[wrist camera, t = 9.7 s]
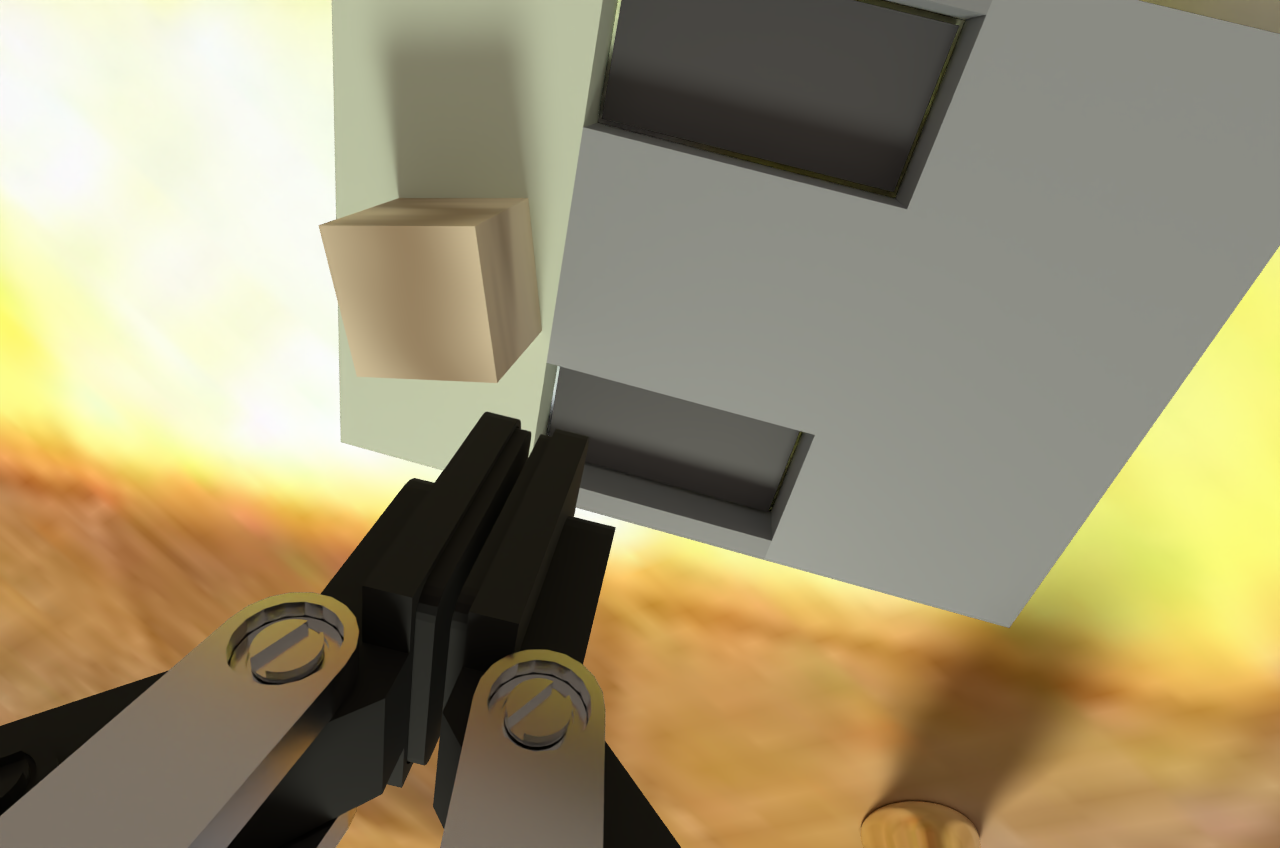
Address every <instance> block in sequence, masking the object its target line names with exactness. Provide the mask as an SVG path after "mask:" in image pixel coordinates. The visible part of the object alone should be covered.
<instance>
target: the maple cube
mask: <svg viewBox="0 0 1280 848" xmlns="http://www.w3.org/2000/svg"><path fill="white" fill-rule="evenodd" d="M319 229H320V233H321V237H322V240H323V244H324V248H325V252H326V256H327V260H328V264H329V268H330V272H331V276H332V280H333V284H334V288H335V292H336V296H337V300H338V304H339V308H340V312H341V316H342V320H343V324H344V328H345V332H346V336H347V340H348V344H349V348H350V352H351V356H352V360H353V364H354V368H355V371H356V375H357V377H375V378H397V379H419V380H441V381H463V382H485V383H498V382H499V380H500V379H501V378H502V377H503V376H504V375H505V373H506V372H507V371H508V370H509V369H510V368H511V366H512V365H513V364H514V363H515V362H516V361H517V359H518V358H519V357H520V356H521V355H522V354H523V352H524V351H525V350H526V349H527V348H528V347H529V345H530V344H531V343H532V342H533V341H534V339H535V338H536V337H537V336H538V335H539V334H540V332H541V331H542V325H541V316H540V306H539V296H538V287H537V277H536V267H535V257H534V248H533V238H532V228H531V218H530V209H529V199H528V198H398V199H395V200H392V201H389V202H386V203H383V204H380V205H377V206H374V207H371V208H368V209H365V210H363V211H360V212H357V213H354V214H351V215H348V216H345V217H342V218H339V219H336V220H333V221H330V222H327V223H324V224H321V225H319Z"/></svg>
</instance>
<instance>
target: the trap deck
mask: <svg viewBox="0 0 1280 848" xmlns="http://www.w3.org/2000/svg"><path fill="white" fill-rule="evenodd" d="M883 1H888V2H892V3H896V4H900V5H904V6H908V7H913V8H917V9H921V10H925V11H929V12H933V13H937V14H942V15H946V16H950V17H954V18H958V19H962V20H965V23H964V25H963V28H962V30H961V33H960V36H959V38H958V41H957V43H956V46H955V48H954V51H953V53H952V56H951V58H950V61H949V63H948V66H947V68H946V71H945V73H944V76H943V78H942V81H941V84H940V86H939V89H938V91H937V94H936V96H935V99H934V101H933V104H932V106H931V109H930V111H929V114H928V116H927V119H926V121H925V124H924V126H923V129H922V132H921V134H920V137H919V139H918V142H917V144H916V147H915V149H914V152H913V154H912V157H911V159H910V162H909V164H908V167H907V169H906V172H905V174H904V177H903V179H902V182H901V185H900V187H899V190H898V192H897V195H896V197H895V198H892V197H888V196H884V195H881V194H877V193H873V192H869V191H865V190H861V189H857V188H853V187H849V186H845V185H841V184H837V183H833V182H829V181H825V180H821V179H817V178H813V177H809V176H805V175H802V174H798V173H794V172H790V171H786V170H782V169H778V168H774V167H770V166H766V165H762V164H758V163H754V162H750V161H746V160H742V159H738V158H734V157H730V156H726V155H723V154H719V153H715V152H711V151H707V150H703V149H699V148H695V147H691V146H687V145H683V144H679V143H675V142H671V141H667V140H663V139H659V138H655V137H651V136H647V135H644V134H640V133H636V132H632V131H628V130H624V129H620V128H616V127H612V126H608V125H604V124H600V123H598V117H599V111H600V105H601V99H602V93H603V87H604V81H605V75H606V69H607V63H608V56H609V50H610V44H611V38H612V32H613V26H614V20H615V14H616V8H617V2H618V0H332V35H333V84H334V132H335V181H336V219H339V218H342V217H345V216H348V215H351V214H354V213H357V212H360V211H363V210H365V209H368V208H371V207H374V206H377V205H380V204H383V203H386V202H389V201H392V200H395V199H398V198H528V199H529V209H530V218H531V228H532V238H533V248H534V257H535V267H536V277H537V287H538V296H539V306H540V316H541V325H542V331H541V332H540V334H539V335H538V336H537V337H536V338H535V339H534V341H533V342H532V343H531V344H530V345H529V347H528V348H527V349H526V350H525V351H524V352H523V354H522V355H521V356H520V357H519V358H518V359H517V361H516V362H515V363H514V364H513V365H512V366H511V368H510V369H509V370H508V371H507V372H506V373H505V375H504V376H503V377H502V378H501V379H500V380H499V382H498V383H485V382H463V381H441V380H419V379H397V378H375V377H357V375H356V371H355V368H354V364H353V360H352V356H351V352H350V348H349V344H348V340H347V336H346V332H345V328H344V324H343V320H342V316H341V312H340V308H339V304H338V326H339V375H340V423H341V442H342V443H346V444H350V445H353V446H357V447H360V448H364V449H368V450H371V451H375V452H378V453H382V454H386V455H389V456H393V457H396V458H400V459H404V460H407V461H411V462H414V463H418V464H422V465H425V466H429V467H432V468H436V469H439V470H444V469H445V467H446V466H447V465H448V463H449V462H450V460H451V459H452V457H453V456H454V455H455V453H456V452H457V450H458V449H459V448H460V446H461V445H462V443H463V442H464V440H465V439H466V438H467V436H468V435H469V433H470V432H471V430H472V429H473V428H474V426H475V425H476V423H477V422H478V421H479V419H480V418H481V416H482V415H483V414H484V413H485V412H491V413H495V414H499V415H504V416H508V417H512V418H516V419H520V421H521V429H523V430H527V431H531V443H530V449H529V455H530V453H531V451H532V450H533V448H534V446H535V444H536V442H537V440H538V438H539V436H540V434H543V435H546V432H547V426H548V420H549V414H550V408H551V402H552V396H553V390H554V384H555V378H556V372H557V366H560V371H559V377H558V383H557V389H556V395H555V401H554V407H553V413H552V419H551V425H550V431H549V436H551V437H552V435H553V433H554V431H555V429H561V430H565V431H569V432H573V433H577V434H581V435H585V436H589V445H588V450H587V455H586V460H585V465H584V470H583V475H582V479H581V484H580V489H579V494H578V499H577V504H576V508H580V509H583V510H587V511H591V512H594V513H598V514H601V515H605V516H609V517H612V518H616V519H619V520H623V521H627V522H630V523H634V524H637V525H641V526H645V527H648V528H652V529H655V530H659V531H663V532H666V533H670V534H673V535H677V536H681V537H684V538H688V539H691V540H695V541H699V542H702V543H706V544H709V545H713V546H717V547H720V548H724V549H727V550H731V551H734V552H738V553H742V554H745V555H749V556H752V557H756V558H760V559H763V560H767V561H770V562H774V563H778V564H781V565H785V566H788V567H792V568H796V569H799V570H803V571H806V572H810V573H814V574H817V575H821V576H824V577H828V578H832V579H835V580H839V581H842V582H846V583H850V584H853V585H857V586H860V587H864V588H868V589H871V590H875V591H878V592H882V593H886V594H889V595H893V596H896V597H900V598H904V599H907V600H911V601H914V602H918V603H922V604H925V605H929V606H932V607H936V608H940V609H943V610H947V611H950V612H954V613H958V614H961V615H965V616H968V617H972V618H976V619H979V620H983V621H986V622H990V623H994V624H997V625H1001V626H1004V627H1008V628H1010V626H1011V625H1012V623H1013V622H1014V621H1015V619H1016V618H1017V616H1018V615H1019V613H1020V612H1021V611H1022V609H1023V608H1024V606H1025V605H1026V604H1027V602H1028V601H1029V599H1030V598H1031V597H1032V595H1033V594H1034V592H1035V591H1036V589H1037V588H1038V587H1039V585H1040V584H1041V582H1042V581H1043V580H1044V578H1045V577H1046V575H1047V574H1048V572H1049V571H1050V570H1051V568H1052V567H1053V565H1054V564H1055V563H1056V561H1057V560H1058V558H1059V557H1060V556H1061V554H1062V553H1063V551H1064V550H1065V548H1066V547H1067V546H1068V544H1069V543H1070V541H1071V540H1072V539H1073V537H1074V536H1075V534H1076V533H1077V531H1078V530H1079V529H1080V527H1081V526H1082V524H1083V523H1084V522H1085V520H1086V519H1087V517H1088V516H1089V515H1090V513H1091V512H1092V510H1093V509H1094V507H1095V506H1096V505H1097V503H1098V502H1099V500H1100V499H1101V498H1102V496H1103V495H1104V493H1105V492H1106V490H1107V489H1108V488H1109V486H1110V485H1111V483H1112V482H1113V481H1114V479H1115V478H1116V476H1117V475H1118V474H1119V472H1120V471H1121V469H1122V468H1123V466H1124V465H1125V464H1126V462H1127V461H1128V459H1129V458H1130V457H1131V455H1132V454H1133V452H1134V451H1135V449H1136V448H1137V447H1138V445H1139V444H1140V442H1141V441H1142V440H1143V438H1144V437H1145V435H1146V434H1147V433H1148V431H1149V430H1150V428H1151V427H1152V425H1153V424H1154V423H1155V421H1156V420H1157V418H1158V417H1159V416H1160V414H1161V413H1162V411H1163V410H1164V408H1165V407H1166V406H1167V404H1168V403H1169V401H1170V400H1171V399H1172V397H1173V396H1174V394H1175V393H1176V392H1177V390H1178V389H1179V387H1180V386H1181V384H1182V383H1183V382H1184V380H1185V379H1186V377H1187V376H1188V375H1189V373H1190V372H1191V370H1192V369H1193V367H1194V366H1195V365H1196V363H1197V362H1198V360H1199V359H1200V358H1201V356H1202V355H1203V353H1204V352H1205V351H1206V349H1207V348H1208V346H1209V345H1210V343H1211V342H1212V341H1213V339H1214V338H1215V336H1216V335H1217V334H1218V332H1219V331H1220V329H1221V328H1222V326H1223V325H1224V324H1225V322H1226V321H1227V319H1228V318H1229V317H1230V315H1231V314H1232V312H1233V311H1234V310H1235V308H1236V307H1237V305H1238V304H1239V302H1240V301H1241V300H1242V298H1243V297H1244V295H1245V294H1246V293H1247V291H1248V290H1249V288H1250V287H1251V285H1252V284H1253V283H1254V281H1255V280H1256V278H1257V277H1258V276H1259V274H1260V273H1261V271H1262V270H1263V268H1264V267H1265V266H1266V264H1267V263H1268V261H1269V260H1270V259H1271V257H1272V256H1273V254H1274V253H1275V252H1276V250H1277V249H1278V247H1279V246H1280V34H1278V33H1274V32H1270V31H1265V30H1261V29H1257V28H1253V27H1249V26H1244V25H1240V24H1236V23H1232V22H1228V21H1223V20H1219V19H1215V18H1211V17H1206V16H1202V15H1198V14H1194V13H1190V12H1185V11H1181V10H1177V9H1173V8H1169V7H1164V6H1160V5H1156V4H1152V3H1147V2H1143V1H1139V0H883ZM958 27H959V26H958V25H954V24H950V23H946V22H942V21H937V20H933V19H929V18H925V17H921V16H917V15H913V14H908V13H904V12H900V11H896V10H892V9H888V8H884V7H879V6H875V5H871V4H867V3H863V2H859V1H855V0H622V1H621V7H620V13H619V19H618V25H617V31H616V37H615V43H614V49H613V55H612V61H611V67H610V73H609V79H608V85H607V91H606V97H605V103H604V109H603V115H602V119H606V120H610V121H614V122H618V123H622V124H626V125H629V126H633V127H637V128H641V129H645V130H649V131H653V132H657V133H661V134H665V135H669V136H673V137H677V138H681V139H685V140H689V141H693V142H697V143H701V144H705V145H709V146H713V147H717V148H720V149H724V150H728V151H732V152H736V153H740V154H744V155H748V156H752V157H756V158H760V159H764V160H768V161H772V162H776V163H780V164H784V165H788V166H792V167H796V168H800V169H804V170H807V171H811V172H815V173H819V174H823V175H827V176H831V177H835V178H839V179H843V180H847V181H851V182H855V183H859V184H863V185H867V186H871V187H875V188H879V189H883V190H887V191H891V192H894V190H895V188H896V185H897V183H898V180H899V178H900V175H901V172H902V170H903V167H904V165H905V162H906V160H907V157H908V155H909V152H910V150H911V147H912V144H913V142H914V139H915V137H916V134H917V132H918V129H919V127H920V124H921V122H922V119H923V116H924V114H925V111H926V109H927V106H928V104H929V101H930V99H931V96H932V94H933V91H934V88H935V86H936V83H937V81H938V78H939V76H940V73H941V71H942V68H943V66H944V63H945V61H946V58H947V55H948V53H949V50H950V48H951V45H952V43H953V40H954V38H955V35H956V33H957V30H958ZM800 431H802V435H801V437H800V440H799V442H798V445H797V447H796V450H795V452H794V455H793V457H792V460H791V462H790V465H789V467H788V470H787V473H786V475H785V478H784V480H783V483H782V485H781V488H780V490H779V493H778V495H777V498H776V500H775V503H774V505H773V508H772V510H771V511H769V508H770V506H771V503H772V501H773V498H774V496H775V493H776V490H777V488H778V485H779V483H780V480H781V478H782V475H783V473H784V470H785V468H786V465H787V462H788V460H789V457H790V455H791V452H792V450H793V447H794V445H795V442H796V440H797V437H798V434H799V432H800ZM528 457H529V456H528Z"/></svg>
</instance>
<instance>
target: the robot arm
mask: <svg viewBox="0 0 1280 848" xmlns="http://www.w3.org/2000/svg"><path fill="white" fill-rule="evenodd" d="M530 443H531V431H527V430H523V429H521V421H520V419H516V418H512V417H508V416H504V415H499V414H495V413H491V412H485V413H484V414H483V415H482V416H481V418H480V419H479V421H478V422H477V423H476V425H475V426H474V428H473V429H472V430H471V432H470V433H469V435H468V436H467V438H466V439H465V440H464V442H463V443H462V445H461V446H460V448H459V449H458V450H457V452H456V453H455V455H454V456H453V457H452V459H451V460H450V462H449V463H448V465H447V466H446V467H445V469H444V470H443V472H442V473H441V474H440V476H439V477H438V479H437V480H436V482H435V483H433V482H429V481H424V480H420V479H416V478H414V479H411V480H409V481H408V482H407V483H406V484H405V485H404V487H403V488H402V489H401V491H400V492H399V493H398V494H397V496H396V497H395V498H394V500H393V501H392V502H391V504H390V505H389V506H388V507H387V509H386V510H385V511H384V513H383V514H382V515H381V516H380V518H379V519H378V520H377V522H376V523H375V524H374V526H373V527H372V528H371V529H370V531H369V532H368V533H367V535H366V536H365V537H364V538H363V540H362V541H361V542H360V544H359V545H358V546H357V548H356V549H355V550H354V551H353V553H352V554H351V555H350V557H349V558H348V559H347V560H346V562H345V563H344V564H343V566H342V567H341V568H340V570H339V571H338V572H337V573H336V575H335V576H334V577H333V579H332V580H331V581H330V582H329V584H328V585H327V586H326V588H325V589H324V590H323V592H322V593H321V594H317V593H313V592H291V593H286V594H281V595H276V596H271V597H268V598H265V599H263V600H261V601H258V602H256V603H253V604H251V605H248V606H247V607H245V608H244V609H243V610H241V611H240V612H238V613H237V614H235V615H234V616H232V617H231V618H229V619H228V620H227V621H226V622H225V623H224V624H222V625H221V626H220V627H219V628H218V629H217V630H216V631H214V632H213V633H212V634H211V635H210V636H209V637H207V638H206V639H205V640H204V641H203V642H202V643H200V644H199V645H198V646H197V647H196V648H195V649H193V650H192V651H191V652H190V653H189V654H188V655H187V656H185V657H184V658H183V659H182V660H181V661H180V662H178V663H177V664H176V665H175V666H174V667H173V668H171V669H170V670H169V671H166V672H163V673H160V674H157V675H154V676H151V677H148V678H145V679H142V680H139V681H136V682H133V683H129V684H126V685H123V686H120V687H117V688H114V689H111V690H108V691H105V692H102V693H99V694H96V695H93V696H90V697H87V698H84V699H81V700H78V701H75V702H72V703H69V704H66V705H63V706H60V707H57V708H54V709H51V710H48V711H45V712H41V713H38V714H35V715H32V716H29V717H26V718H23V719H20V720H17V721H14V722H11V723H8V724H5V725H2V726H0V848H336V846H337V845H338V843H339V842H340V840H341V839H342V837H343V836H344V834H345V833H346V831H347V830H348V828H349V826H350V824H351V822H352V820H353V818H354V816H355V814H356V811H357V807H358V806H360V805H362V804H364V803H365V802H367V801H369V800H371V799H373V798H375V797H377V796H379V795H381V794H382V793H383V791H384V789H385V787H386V785H387V784H389V785H393V786H397V787H401V788H402V786H403V784H404V782H405V780H406V778H407V775H408V773H409V771H410V769H411V766H412V764H413V763H417V764H421V765H426V764H427V763H428V761H429V759H430V757H431V755H432V753H433V751H434V748H435V746H436V744H437V741H438V739H439V737H440V741H439V751H438V761H437V772H436V783H435V793H434V803H433V807H434V809H435V811H436V813H437V816H438V818H439V820H440V822H441V824H442V826H443V828H444V833H443V837H442V842H441V846H440V848H681V847H680V845H679V844H678V842H677V841H676V840H675V838H674V837H673V835H672V834H671V833H670V831H669V830H668V828H667V827H666V826H665V824H664V823H663V821H662V820H661V819H660V817H659V816H658V814H657V813H656V812H655V810H654V809H653V807H652V806H651V805H650V803H649V802H648V800H647V799H646V798H645V796H644V795H643V793H642V792H641V791H640V789H639V788H638V786H637V785H636V784H635V782H634V781H633V779H632V778H631V777H630V775H629V774H628V772H627V771H626V770H625V768H624V767H623V765H622V764H621V763H620V761H619V760H618V758H617V757H616V756H615V754H614V753H613V751H612V750H611V749H610V747H609V746H608V744H607V743H606V742H605V705H604V698H603V692H602V690H601V688H600V686H599V684H598V683H597V681H596V679H595V677H594V676H593V675H592V674H591V673H590V672H589V671H588V670H587V669H586V668H585V667H584V666H583V662H584V658H585V653H586V649H587V645H588V641H589V637H590V633H591V628H592V624H593V620H594V616H595V612H596V607H597V603H598V599H599V595H600V591H601V587H602V582H603V578H604V574H605V570H606V566H607V561H608V557H609V553H610V549H611V545H612V541H613V536H614V532H615V528H616V527H612V526H608V525H604V524H600V523H596V522H592V521H587V520H583V519H579V518H575V517H574V513H575V508H576V504H577V499H578V494H579V489H580V484H581V479H582V475H583V470H584V465H585V460H586V455H587V450H588V445H589V436H585V435H581V434H577V433H573V432H569V431H565V430H561V429H555V431H554V433H553V435H552V437H551V436H547V435H543V434H540V436H539V438H538V440H537V442H536V444H535V446H534V448H533V450H532V451H531V453H530V455H529V449H530ZM528 456H529V457H528Z"/></svg>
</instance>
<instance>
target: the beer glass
mask: <svg viewBox="0 0 1280 848" xmlns="http://www.w3.org/2000/svg"><path fill="white" fill-rule="evenodd" d="M860 835H861V842H862V846H863V848H981V844H980V839H979V835H978V832H977V830H976V828H975V826H974V825H973V823H972V822H971V821H970V820H969V819H968V818H967V817H965V816H964V815H962V814H961V813H959V812H958V811H956V810H954V809H952V808H949V807H947V806H944V805H940V804H936V803H931V802H924V801H905V802H897V803H893V804H889V805H886V806H883V807H881V808H879V809H877V810H875V811H874V812H872V813H871V814H870V815H869V816H868V817H867V818H866V819H865V820H864V822H863V824H862V826H861V833H860Z"/></svg>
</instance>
